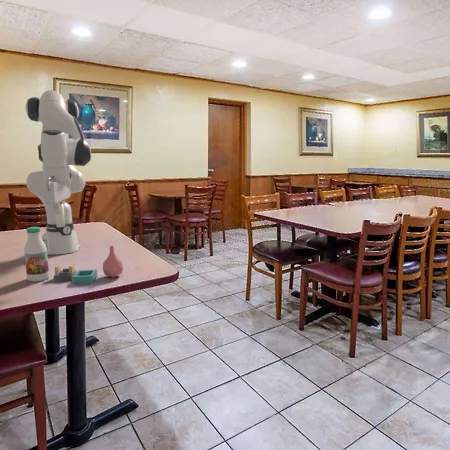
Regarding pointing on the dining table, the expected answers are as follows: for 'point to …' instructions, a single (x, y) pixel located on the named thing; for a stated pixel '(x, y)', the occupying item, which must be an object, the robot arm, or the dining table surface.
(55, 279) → the clip block
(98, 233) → the dining table surface
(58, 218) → the fuse
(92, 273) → the tray
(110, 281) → the dining table surface
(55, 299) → the dining table surface
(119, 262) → the pink bulb-shaped piece
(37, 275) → the milk bottle
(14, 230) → the dining table surface
